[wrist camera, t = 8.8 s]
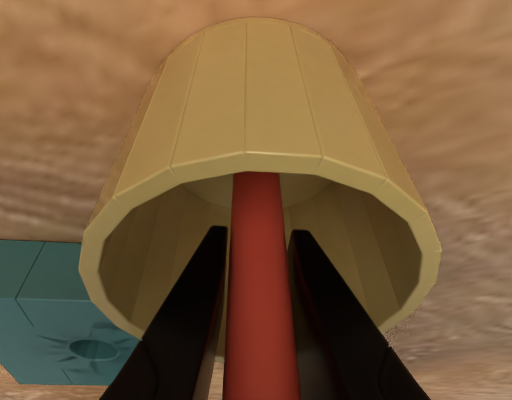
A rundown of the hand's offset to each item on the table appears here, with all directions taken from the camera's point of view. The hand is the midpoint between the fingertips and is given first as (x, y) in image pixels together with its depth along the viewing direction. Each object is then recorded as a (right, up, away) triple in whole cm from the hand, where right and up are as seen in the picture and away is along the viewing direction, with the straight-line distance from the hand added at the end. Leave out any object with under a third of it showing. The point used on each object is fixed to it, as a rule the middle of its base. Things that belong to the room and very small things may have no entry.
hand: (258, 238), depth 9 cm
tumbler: (0, +3, +4) cm, 5 cm away
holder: (-8, -4, +11) cm, 14 cm away
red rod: (0, +3, +3) cm, 4 cm away
